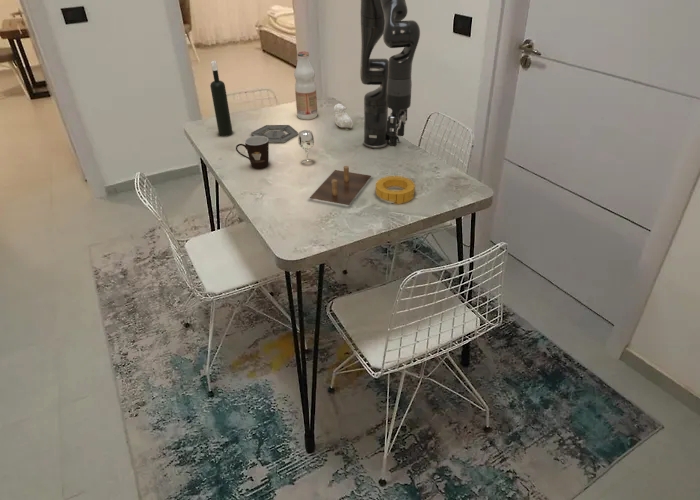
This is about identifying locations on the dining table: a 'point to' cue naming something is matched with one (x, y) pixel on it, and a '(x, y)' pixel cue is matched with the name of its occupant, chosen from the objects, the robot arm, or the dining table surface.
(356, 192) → the rack
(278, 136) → the grey hexagonal frame
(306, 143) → the wineglass
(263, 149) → the coffee mug
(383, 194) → the yellow segmented ring
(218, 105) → the wine bottle
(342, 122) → the bust
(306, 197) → the dining table surface
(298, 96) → the white milk bottle
